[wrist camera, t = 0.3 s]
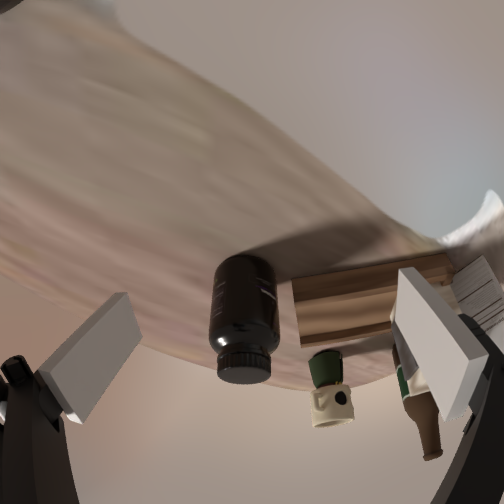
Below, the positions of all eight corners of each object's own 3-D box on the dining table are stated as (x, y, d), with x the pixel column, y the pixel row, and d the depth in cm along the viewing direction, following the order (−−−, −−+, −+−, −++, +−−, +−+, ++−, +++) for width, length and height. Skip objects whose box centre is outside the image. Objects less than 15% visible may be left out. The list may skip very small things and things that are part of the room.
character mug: (355, 356, 51) (366, 419, 42) (324, 368, 55) (331, 429, 46) (325, 340, 46) (336, 416, 37) (291, 354, 49) (297, 426, 40)
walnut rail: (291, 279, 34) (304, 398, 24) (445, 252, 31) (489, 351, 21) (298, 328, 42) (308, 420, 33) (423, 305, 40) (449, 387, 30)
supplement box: (492, 276, 36) (527, 356, 25) (450, 305, 41) (478, 385, 30) (483, 252, 31) (528, 344, 21) (435, 286, 36) (469, 380, 26)
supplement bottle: (285, 261, 32) (297, 367, 23) (262, 296, 36) (266, 390, 28) (223, 246, 30) (216, 358, 22) (207, 285, 34) (199, 383, 26)
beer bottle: (384, 353, 52) (404, 467, 35) (401, 334, 46) (428, 461, 30) (414, 349, 52) (437, 456, 36) (433, 331, 47) (462, 447, 30)
